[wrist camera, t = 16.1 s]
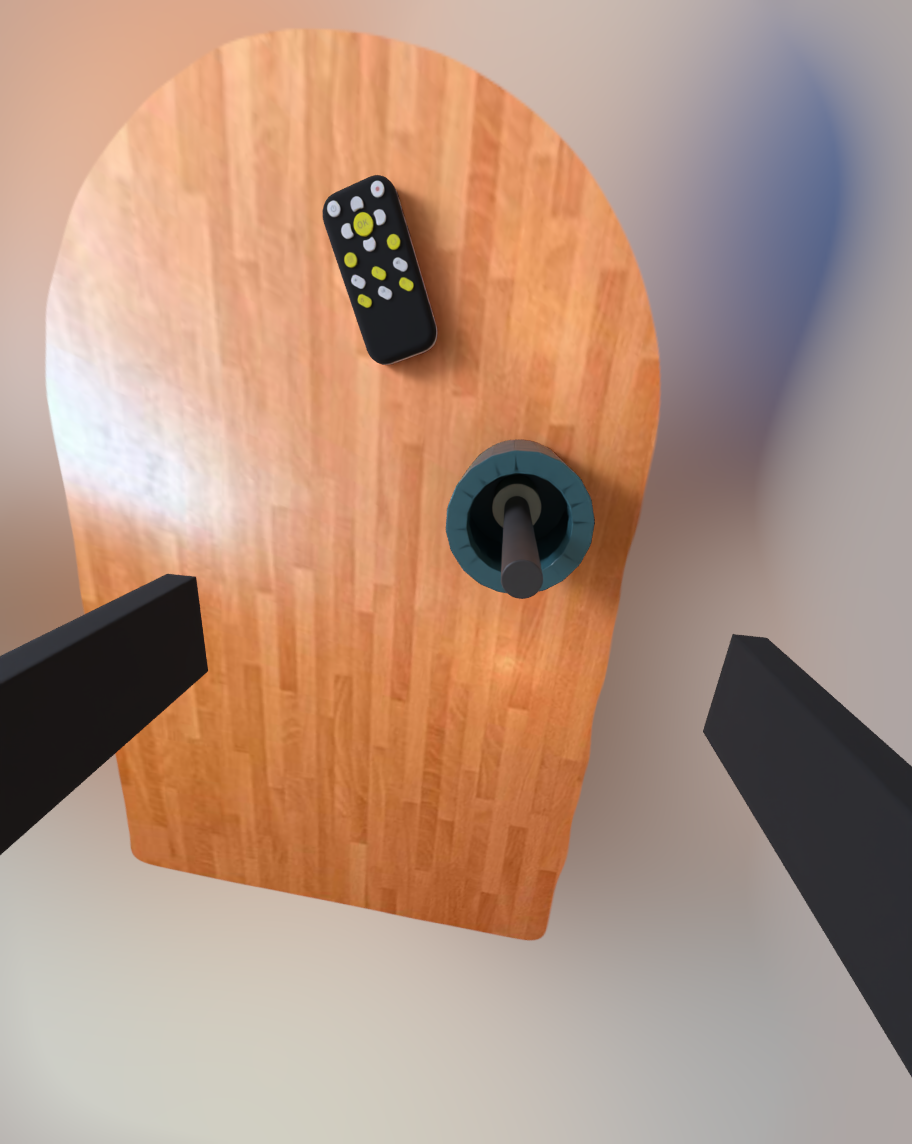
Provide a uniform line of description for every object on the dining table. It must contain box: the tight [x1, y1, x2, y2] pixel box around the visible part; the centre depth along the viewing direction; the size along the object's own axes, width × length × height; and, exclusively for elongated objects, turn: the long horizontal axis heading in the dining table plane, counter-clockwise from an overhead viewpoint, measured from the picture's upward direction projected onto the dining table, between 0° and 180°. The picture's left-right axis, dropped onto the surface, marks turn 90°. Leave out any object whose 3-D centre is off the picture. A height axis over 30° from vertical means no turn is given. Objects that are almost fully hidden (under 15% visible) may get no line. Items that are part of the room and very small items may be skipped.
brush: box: [492, 475, 543, 599], centre depth 32 cm, size 4×4×22 cm
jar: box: [446, 440, 595, 593], centre depth 38 cm, size 10×10×12 cm
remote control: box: [323, 175, 438, 365], centre depth 38 cm, size 6×13×2 cm, turn 18°
